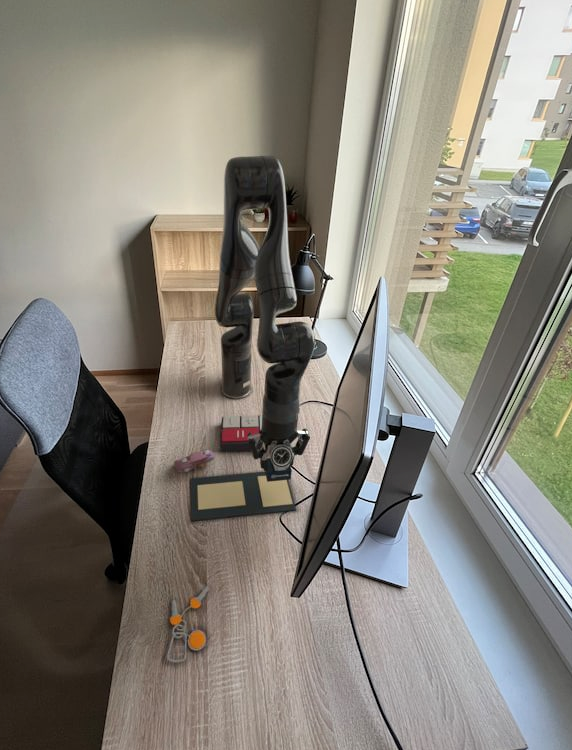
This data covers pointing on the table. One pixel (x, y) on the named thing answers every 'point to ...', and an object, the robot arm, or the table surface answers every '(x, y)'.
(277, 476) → the watch
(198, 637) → the key chain
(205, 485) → the desk mat
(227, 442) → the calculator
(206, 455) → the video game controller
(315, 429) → the table surface
